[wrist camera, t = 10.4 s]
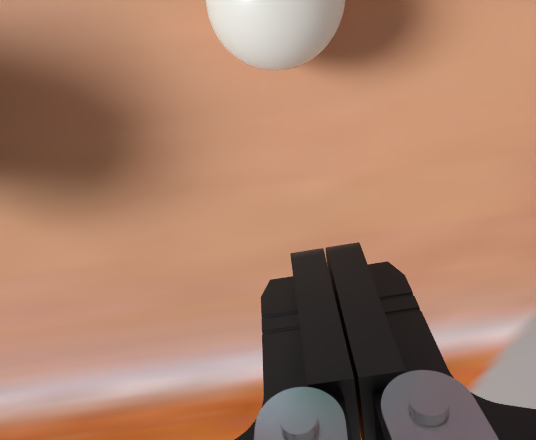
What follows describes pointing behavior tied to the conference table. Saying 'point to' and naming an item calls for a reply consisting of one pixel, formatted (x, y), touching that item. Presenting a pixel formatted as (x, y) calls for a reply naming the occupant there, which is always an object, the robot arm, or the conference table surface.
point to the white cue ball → (275, 29)
